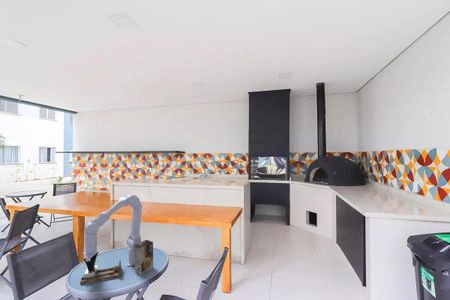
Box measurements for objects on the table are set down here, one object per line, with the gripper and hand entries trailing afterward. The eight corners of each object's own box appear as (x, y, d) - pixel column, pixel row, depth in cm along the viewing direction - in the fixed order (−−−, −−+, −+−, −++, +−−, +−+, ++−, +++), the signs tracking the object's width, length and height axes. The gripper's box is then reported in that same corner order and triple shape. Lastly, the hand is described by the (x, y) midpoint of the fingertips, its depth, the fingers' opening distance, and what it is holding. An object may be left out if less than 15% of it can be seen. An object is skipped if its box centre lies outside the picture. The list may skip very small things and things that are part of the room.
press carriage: (98, 268, 125) (97, 258, 125) (94, 275, 118) (94, 264, 118) (88, 270, 123) (88, 259, 123) (84, 277, 116) (84, 266, 116)
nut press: (121, 268, 130) (121, 259, 130) (119, 277, 121) (119, 267, 121) (85, 274, 124) (85, 265, 124) (80, 284, 114) (80, 274, 114)
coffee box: (146, 265, 133) (146, 239, 134) (153, 268, 130) (153, 241, 130) (133, 272, 126) (133, 244, 126) (141, 275, 122) (141, 247, 123)
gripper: (86, 240, 126) (86, 263, 126) (79, 250, 113) (79, 276, 112) (100, 238, 129) (100, 261, 128) (94, 248, 115) (94, 273, 115)
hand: (91, 268), depth 120 cm, fingers closed on press carriage, 3 cm apart
